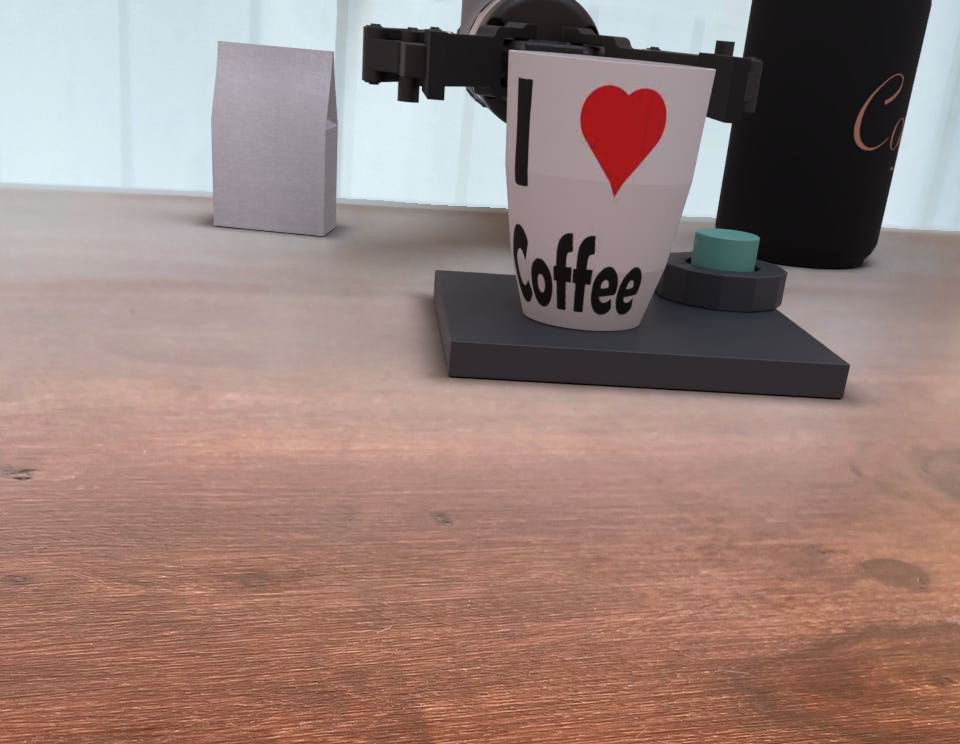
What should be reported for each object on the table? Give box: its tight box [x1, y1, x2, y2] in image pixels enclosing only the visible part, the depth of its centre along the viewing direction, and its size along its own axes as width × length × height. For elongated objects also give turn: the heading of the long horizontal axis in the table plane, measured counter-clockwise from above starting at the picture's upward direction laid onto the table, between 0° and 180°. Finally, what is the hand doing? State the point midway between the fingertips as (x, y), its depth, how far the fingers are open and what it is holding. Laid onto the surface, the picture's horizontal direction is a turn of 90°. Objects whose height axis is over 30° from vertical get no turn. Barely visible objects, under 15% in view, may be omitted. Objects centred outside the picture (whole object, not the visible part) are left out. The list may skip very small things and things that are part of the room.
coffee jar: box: [714, 0, 933, 269], centre depth 75 cm, size 11×11×18 cm
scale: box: [433, 251, 851, 399], centre depth 53 cm, size 16×14×3 cm
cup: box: [504, 50, 716, 331], centre depth 49 cm, size 8×8×10 cm
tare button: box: [691, 227, 760, 272], centre depth 56 cm, size 3×3×2 cm
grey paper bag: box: [210, 40, 339, 237], centre depth 71 cm, size 4×7×10 cm, turn 85°
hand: (589, 78), depth 53 cm, fingers open, 13 cm apart
